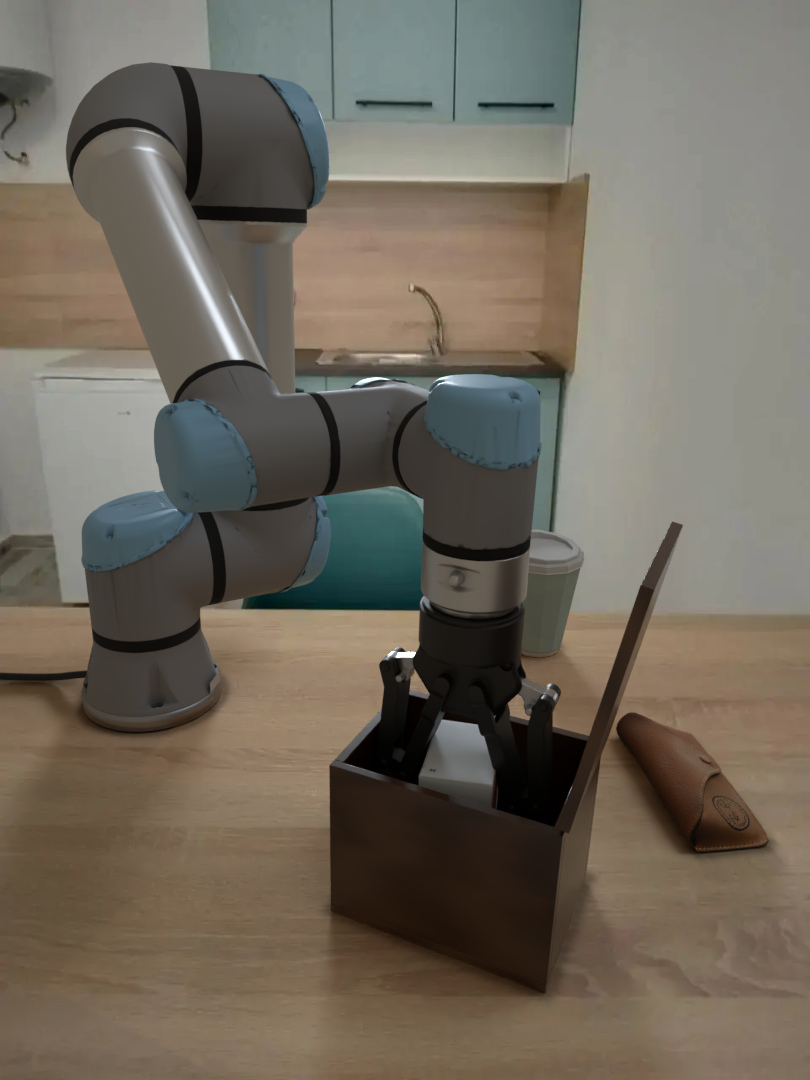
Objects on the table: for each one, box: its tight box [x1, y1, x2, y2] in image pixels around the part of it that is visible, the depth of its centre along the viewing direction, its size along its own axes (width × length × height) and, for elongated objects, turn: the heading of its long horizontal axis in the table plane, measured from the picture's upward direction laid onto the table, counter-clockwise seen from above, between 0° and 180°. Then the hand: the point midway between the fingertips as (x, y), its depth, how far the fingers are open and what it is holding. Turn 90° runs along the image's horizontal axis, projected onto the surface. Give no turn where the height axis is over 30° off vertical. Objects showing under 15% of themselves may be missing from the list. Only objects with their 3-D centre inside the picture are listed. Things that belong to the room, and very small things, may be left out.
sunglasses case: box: [615, 711, 770, 853], centre depth 81 cm, size 18×7×7 cm
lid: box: [558, 521, 684, 834], centre depth 56 cm, size 18×13×1 cm
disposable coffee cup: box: [521, 529, 585, 658], centre depth 107 cm, size 11×11×15 cm
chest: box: [328, 689, 602, 994], centre depth 66 cm, size 18×13×14 cm
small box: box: [419, 720, 498, 809], centre depth 65 cm, size 8×6×10 cm
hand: (456, 856), depth 67 cm, fingers closed on small box, 6 cm apart
